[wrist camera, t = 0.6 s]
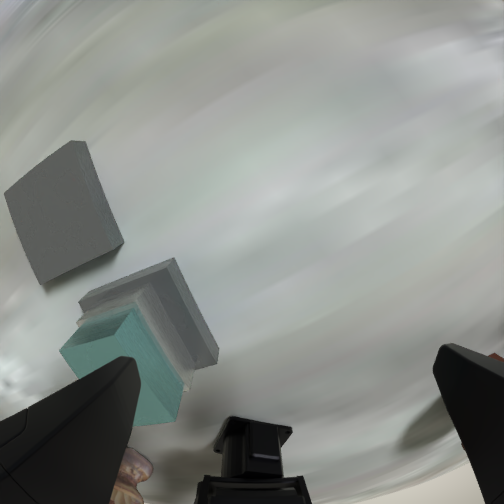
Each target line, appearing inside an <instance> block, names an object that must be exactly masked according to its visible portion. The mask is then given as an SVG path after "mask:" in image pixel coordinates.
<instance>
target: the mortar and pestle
mask: <svg viewBox="0 0 504 504" xmlns="http://www.w3.org/2000/svg"><path fill="white" fill-rule="evenodd" d="M152 473H153V466H152V464H151V463H150V462H149V461H148V460H146V459H145V458H144V457H143V456H141V455H140V454H139V453H138V452H137V451H135V450H134V449H133V448H127V447H126V450H125V453H124V456H123V459H122V463H121V466H120V469H119V472H118V475H117V479H116V482H115V485H114V489H113V492H112V495H111V499H110V502H109V504H144V501H143V498H142V496H141V495H140V493H139V492H138V490H137V489H136V486H137V483H139V482H143V481H146V480H147V479H148V478H149V477H150V476H151V475H152Z"/></svg>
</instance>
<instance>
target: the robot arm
mask: <svg viewBox="0 0 504 504" xmlns="http://www.w3.org/2000/svg"><path fill="white" fill-rule="evenodd" d="M433 374H434V377H435V379H436V382H437V384H438V387H439V390H440V392H441V395H442V398H443V400H444V403H445V406H446V408H447V411H448V413H449V415H450V417H451V420H452V422H453V424H454V426H455V428H456V430H457V433H458V435H459V437H460V439H461V442H462V444H463V446H464V449H465V451H466V453H467V456H468V458H469V461H470V463H471V466H472V468H473V471H474V473H475V476H476V479H477V481H478V484H479V487H480V490H481V493H482V495H483V498H484V501H485V504H504V362H502V361H499V360H496V359H494V358H491V357H488V356H485V355H483V354H480V353H477V352H475V351H472V350H470V349H467V348H464V347H462V346H459V345H456V344H454V343H449V344H444V345H442V346H441V347H440V348H439V351H438V354H437V357H436V360H435V362H434V365H433ZM140 389H141V379H140V375H139V371H138V367H137V363H136V360H135V359H134V358H133V357H128V356H119V357H118V358H116V359H114V360H112V361H111V362H109V363H107V364H105V365H104V366H102V367H100V368H98V369H96V370H95V371H93V372H91V373H89V374H88V375H86V376H84V377H82V378H80V379H79V380H77V381H75V382H73V383H72V384H70V385H68V386H66V387H64V388H62V389H61V390H59V391H57V392H55V393H53V394H52V395H50V396H48V397H46V398H44V399H42V400H41V401H39V402H37V403H35V404H33V405H31V406H29V407H28V409H27V408H26V409H24V410H22V411H20V412H18V413H16V414H14V415H12V416H10V417H8V418H6V419H4V420H2V421H0V504H109V502H110V499H111V495H112V492H113V489H114V485H115V482H116V479H117V475H118V472H119V469H120V466H121V463H122V459H123V456H124V453H125V450H126V447H127V444H128V441H129V438H130V435H131V431H132V427H133V422H134V417H135V413H136V408H137V403H138V398H139V394H140ZM292 432H293V431H292V428H291V427H288V426H282V425H276V424H270V423H264V422H259V421H254V420H249V419H244V418H239V417H234V416H232V417H229V419H228V421H227V423H226V425H225V427H224V428H223V430H222V432H221V434H220V436H219V438H218V440H217V442H216V444H215V446H214V452H216V453H220V454H222V469H221V477H215V476H210V475H204V479H203V481H201V482H199V483H198V486H197V494H196V499H195V502H194V504H312V502H311V499H310V496H309V493H308V490H307V487H306V484H305V480H304V477H303V476H297V477H287V478H284V475H283V465H282V456H281V447H282V446H283V444H284V443H285V442H286V441H287V439H288V438H289V437H290V435H291V434H292Z"/></svg>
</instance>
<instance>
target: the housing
mask: <svg viewBox="0 0 504 504" xmlns="http://www.w3.org/2000/svg"><path fill="white" fill-rule="evenodd" d="M76 323H77V325H78V327H79V328H78V330H77V331H76V332H75V333H74V334H73V335H72V336H71V337H70V339H69V340H68V341H67V342H66V343H65V344H64V346H63V347H62V348H61V349H60V350H59V351H60V353H61V354H62V356H63V357H64V359H65V360H66V362H67V363H68V365H69V366H70V367H71V369H72V370H73V372H74V373H75V374H76V376H77V377H78V379H80V378H82V377H84V376H86V375H88V374H89V373H91V372H93V371H95V370H96V369H98V368H100V367H102V366H104V365H105V364H107V363H109V362H111V361H112V360H114V359H116V358H118V357H119V356H128V357H133V358H134V359H135V360H136V363H137V367H138V371H139V375H140V379H141V389H140V394H139V398H138V403H137V408H136V413H135V417H134V422H133V426H143V425H152V424H160V423H168V422H175V421H176V417H177V412H178V408H179V404H180V400H181V396H182V392H186V391H190V387H191V382H192V378H193V374H194V369H195V365H196V363H195V362H194V360H193V358H192V357H191V355H190V353H189V352H188V350H187V348H186V346H185V345H184V343H183V341H182V339H181V338H180V336H179V334H178V332H177V331H176V329H175V327H174V325H173V323H172V322H171V320H170V318H169V316H168V314H167V312H166V310H165V309H164V307H163V305H162V303H161V301H160V299H159V297H158V295H157V293H156V291H155V289H154V287H153V285H152V283H151V282H148V283H145V284H143V285H140V286H137V287H135V288H132V289H129V290H127V291H124V292H121V293H119V294H116V295H113V296H111V297H108V298H106V299H103V300H100V301H98V302H95V303H94V304H93V305H92V306H91V307H90V308H89V309H88V310H87V311H86V312H85V313H84V314H83V316H82V317H81V318H80V319H79V320H78V321H77V322H76Z"/></svg>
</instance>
